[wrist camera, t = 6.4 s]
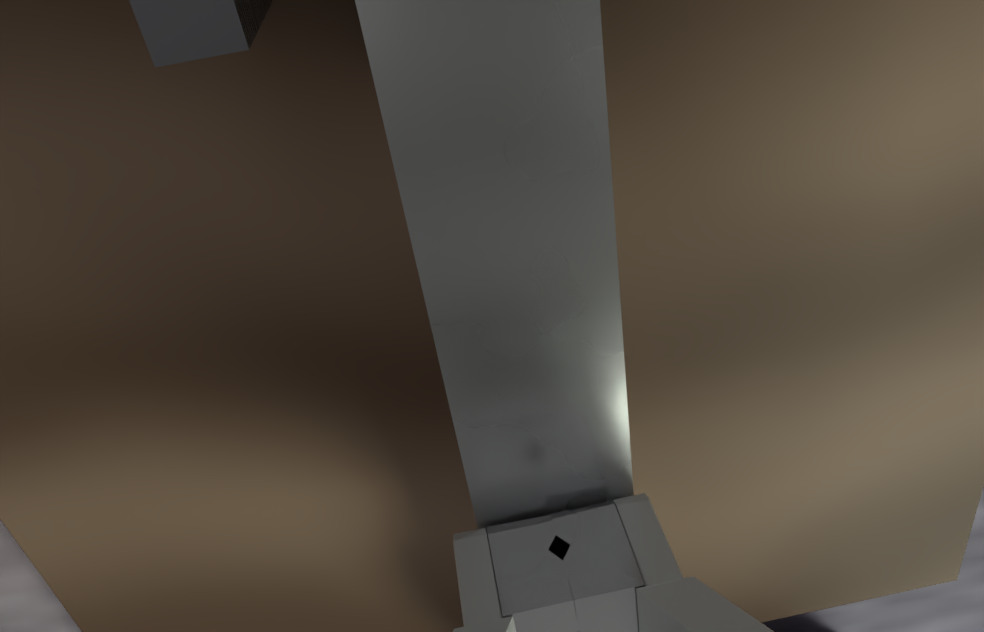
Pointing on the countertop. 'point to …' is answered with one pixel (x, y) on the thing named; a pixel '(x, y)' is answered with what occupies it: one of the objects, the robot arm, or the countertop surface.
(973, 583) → the countertop surface
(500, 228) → the upper tong arm
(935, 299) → the walnut board
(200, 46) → the lower tong arm
